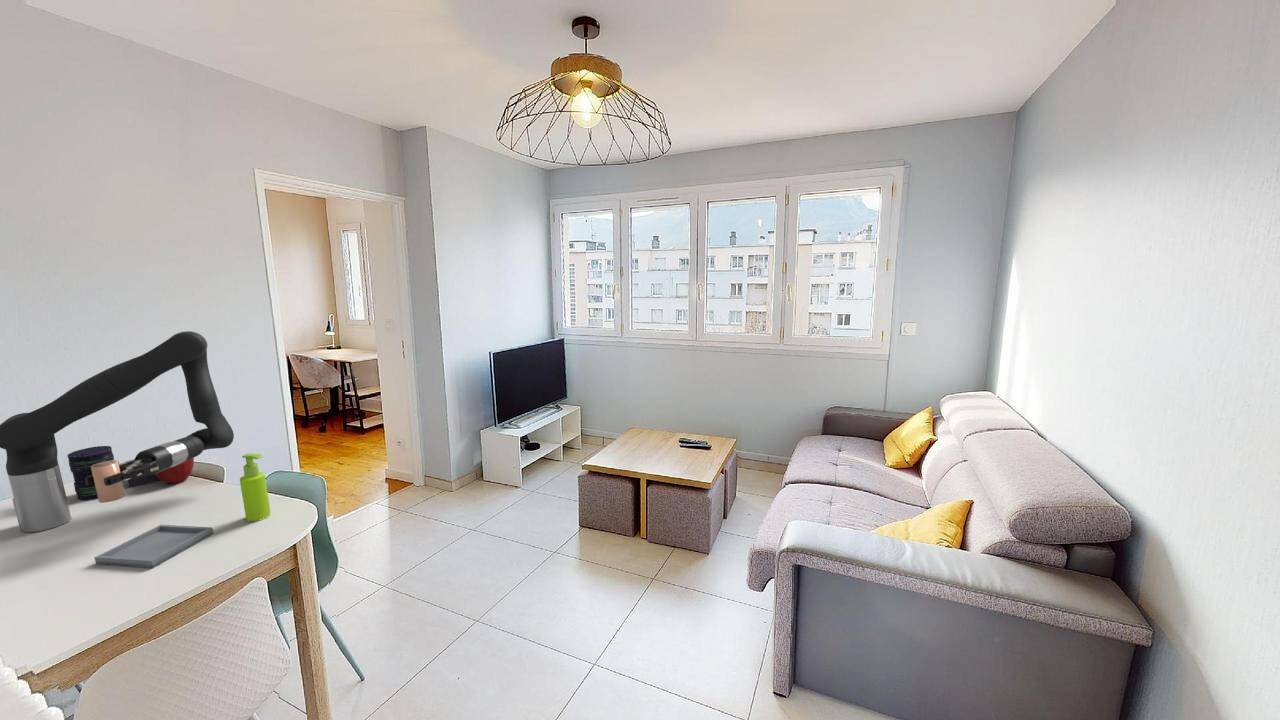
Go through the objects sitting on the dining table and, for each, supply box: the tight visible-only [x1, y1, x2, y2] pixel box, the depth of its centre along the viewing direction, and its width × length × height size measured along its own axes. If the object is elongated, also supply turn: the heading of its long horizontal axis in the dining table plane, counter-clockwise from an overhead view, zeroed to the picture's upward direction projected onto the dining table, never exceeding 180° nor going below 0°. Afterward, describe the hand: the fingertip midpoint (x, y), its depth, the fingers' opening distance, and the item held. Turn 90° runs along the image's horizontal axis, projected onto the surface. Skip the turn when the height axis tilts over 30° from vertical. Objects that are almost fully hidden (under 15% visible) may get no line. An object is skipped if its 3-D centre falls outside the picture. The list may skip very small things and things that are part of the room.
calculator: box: [127, 474, 162, 489], centre depth 175 cm, size 11×4×15 cm
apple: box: [155, 457, 195, 485], centre depth 170 cm, size 11×11×12 cm
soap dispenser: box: [239, 452, 271, 522], centre depth 145 cm, size 6×7×20 cm
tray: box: [94, 524, 215, 569], centre depth 131 cm, size 16×16×2 cm
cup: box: [91, 459, 126, 503], centre depth 133 cm, size 5×5×10 cm
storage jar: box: [66, 445, 115, 501], centre depth 160 cm, size 10×10×15 cm
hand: (96, 481), depth 130 cm, fingers closed on cup, 5 cm apart
